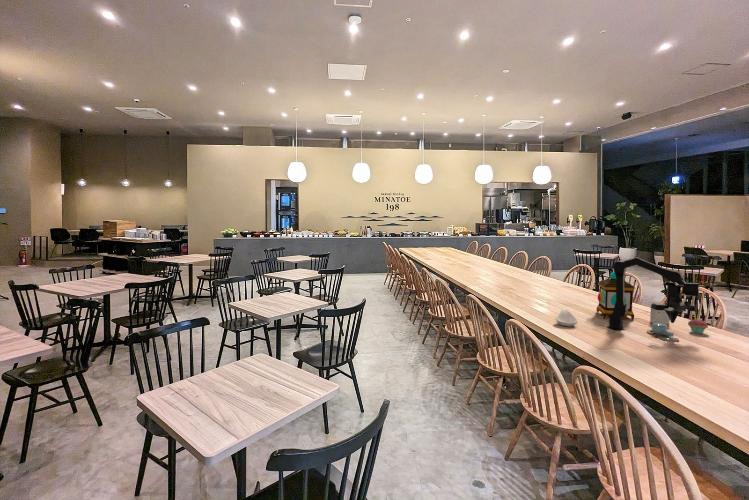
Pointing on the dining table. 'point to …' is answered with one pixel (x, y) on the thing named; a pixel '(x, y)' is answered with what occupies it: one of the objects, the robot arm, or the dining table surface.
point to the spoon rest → (566, 318)
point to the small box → (659, 316)
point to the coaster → (668, 338)
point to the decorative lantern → (613, 296)
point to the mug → (661, 329)
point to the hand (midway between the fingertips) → (672, 322)
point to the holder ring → (654, 334)
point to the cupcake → (697, 325)
